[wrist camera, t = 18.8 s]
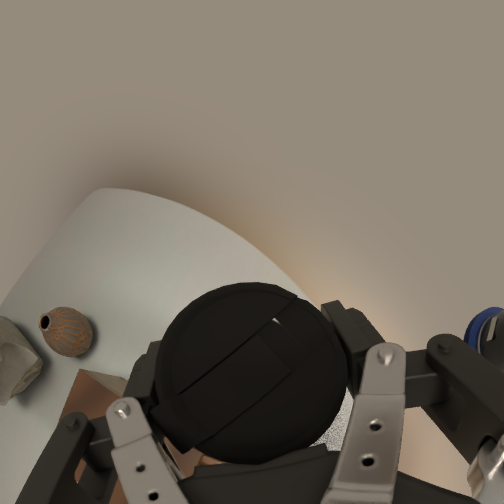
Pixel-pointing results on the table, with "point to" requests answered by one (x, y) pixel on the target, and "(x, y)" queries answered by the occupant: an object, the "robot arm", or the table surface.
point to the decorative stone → (15, 361)
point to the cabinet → (95, 405)
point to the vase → (66, 331)
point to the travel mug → (248, 375)
